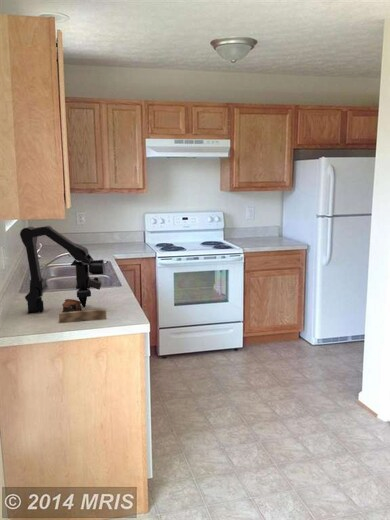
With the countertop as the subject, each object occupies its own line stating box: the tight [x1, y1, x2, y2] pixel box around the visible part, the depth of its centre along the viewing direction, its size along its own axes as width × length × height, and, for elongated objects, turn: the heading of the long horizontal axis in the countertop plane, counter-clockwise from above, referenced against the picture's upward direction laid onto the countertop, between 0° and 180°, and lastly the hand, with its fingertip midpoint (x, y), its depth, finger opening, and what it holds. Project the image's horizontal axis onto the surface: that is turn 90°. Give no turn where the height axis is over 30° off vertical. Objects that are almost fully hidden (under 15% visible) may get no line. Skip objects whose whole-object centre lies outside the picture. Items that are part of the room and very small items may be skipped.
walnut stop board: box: [58, 308, 107, 324], centre depth 207 cm, size 20×2×4 cm, turn 105°
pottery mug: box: [60, 298, 83, 312], centre depth 215 cm, size 12×10×8 cm
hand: (84, 307), depth 221 cm, fingers closed
